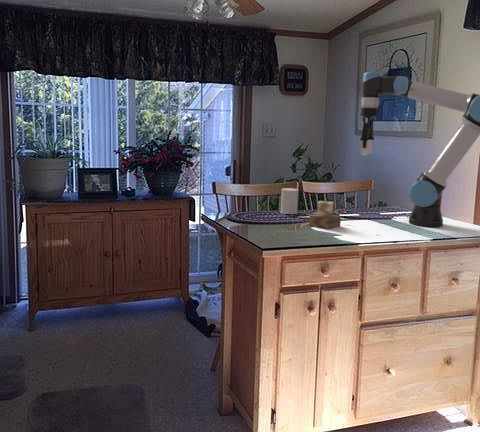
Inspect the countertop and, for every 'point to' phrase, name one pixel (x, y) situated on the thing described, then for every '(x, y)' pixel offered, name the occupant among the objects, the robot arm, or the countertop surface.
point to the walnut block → (324, 221)
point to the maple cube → (325, 209)
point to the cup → (289, 201)
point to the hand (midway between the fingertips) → (366, 154)
